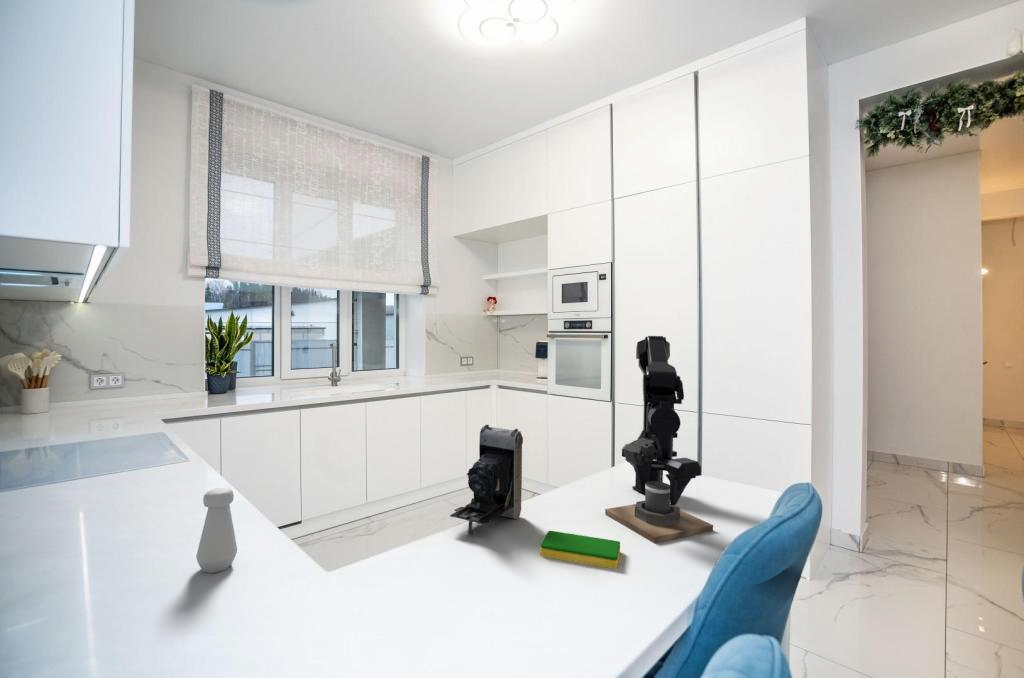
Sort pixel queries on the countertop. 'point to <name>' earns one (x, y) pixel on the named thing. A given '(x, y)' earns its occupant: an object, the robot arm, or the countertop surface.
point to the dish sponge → (581, 549)
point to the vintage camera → (495, 478)
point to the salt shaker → (217, 532)
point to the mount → (658, 522)
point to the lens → (657, 497)
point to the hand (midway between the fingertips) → (657, 498)
